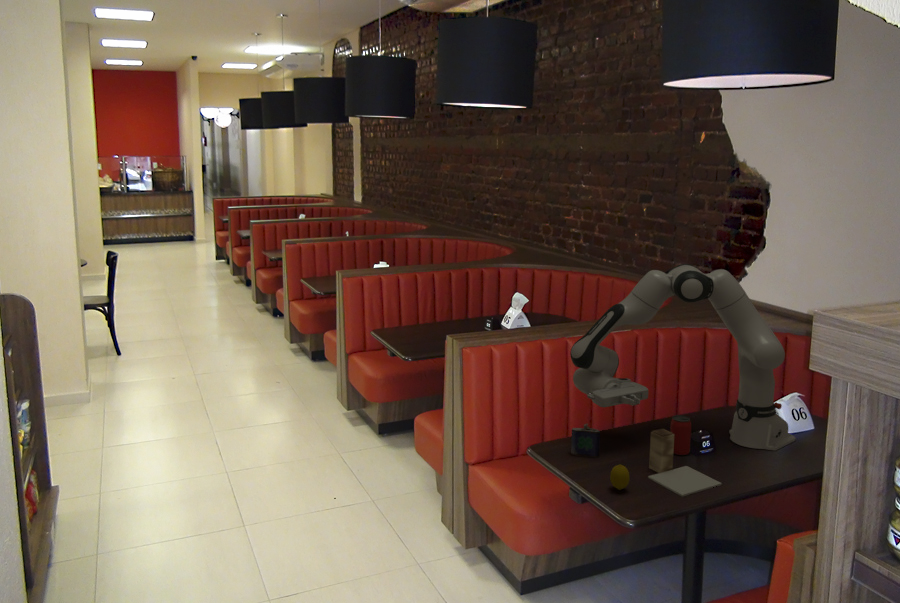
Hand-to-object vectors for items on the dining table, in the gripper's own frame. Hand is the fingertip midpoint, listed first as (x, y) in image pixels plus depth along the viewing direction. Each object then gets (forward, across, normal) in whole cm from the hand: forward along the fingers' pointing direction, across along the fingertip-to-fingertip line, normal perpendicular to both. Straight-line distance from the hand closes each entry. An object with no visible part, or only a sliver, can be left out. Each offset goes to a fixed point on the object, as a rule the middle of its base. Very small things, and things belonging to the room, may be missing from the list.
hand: (636, 402), depth 231 cm
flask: (-8, -14, +19) cm, 24 cm away
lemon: (+17, -21, +18) cm, 33 cm away
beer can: (+5, +15, +18) cm, 24 cm away
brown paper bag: (+12, 0, +18) cm, 22 cm away
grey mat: (+22, 0, +18) cm, 29 cm away
